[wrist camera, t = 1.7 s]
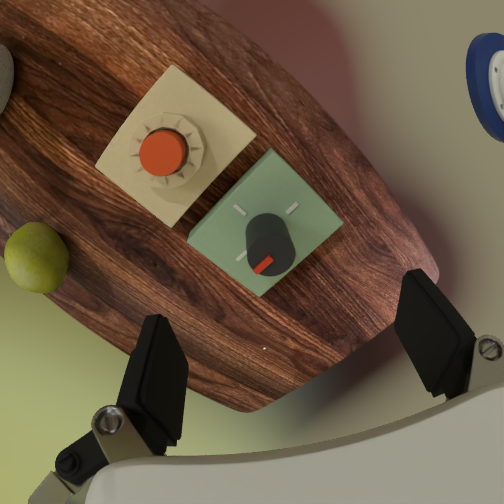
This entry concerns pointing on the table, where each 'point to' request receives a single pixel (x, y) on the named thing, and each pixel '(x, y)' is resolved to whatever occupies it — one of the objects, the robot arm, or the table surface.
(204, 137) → the button base
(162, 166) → the stop button
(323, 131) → the table surface
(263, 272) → the dial
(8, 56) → the planter
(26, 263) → the apple
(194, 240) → the dial base
